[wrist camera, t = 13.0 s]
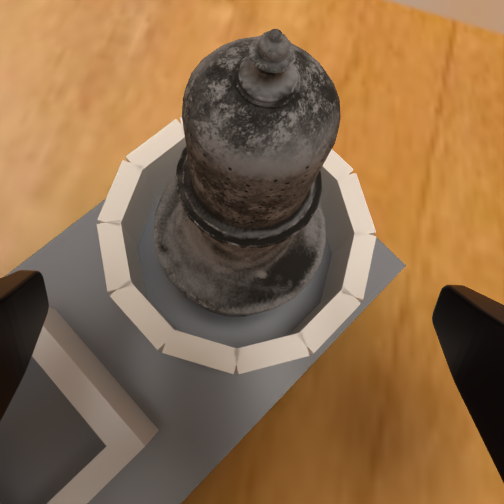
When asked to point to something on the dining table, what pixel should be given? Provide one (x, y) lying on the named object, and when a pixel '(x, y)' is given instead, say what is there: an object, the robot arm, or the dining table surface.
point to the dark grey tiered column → (249, 177)
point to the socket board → (149, 376)
